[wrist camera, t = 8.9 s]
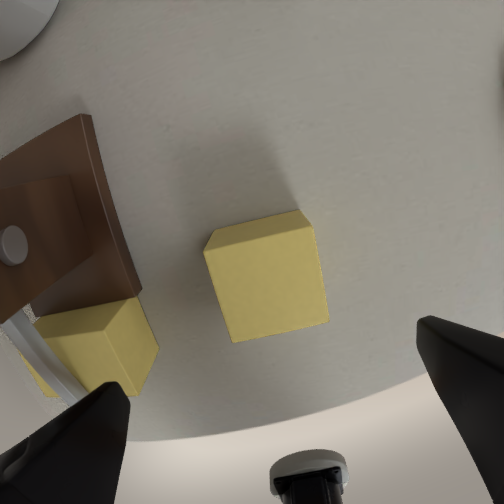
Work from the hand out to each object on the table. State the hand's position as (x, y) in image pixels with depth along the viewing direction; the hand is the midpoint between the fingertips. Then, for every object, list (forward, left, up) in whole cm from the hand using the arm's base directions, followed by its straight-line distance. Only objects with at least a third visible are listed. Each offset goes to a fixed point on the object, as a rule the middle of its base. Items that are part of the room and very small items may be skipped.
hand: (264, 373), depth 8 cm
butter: (-2, +11, -8) cm, 14 cm away
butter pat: (0, 0, -8) cm, 9 cm away
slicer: (+5, +11, -8) cm, 15 cm away
